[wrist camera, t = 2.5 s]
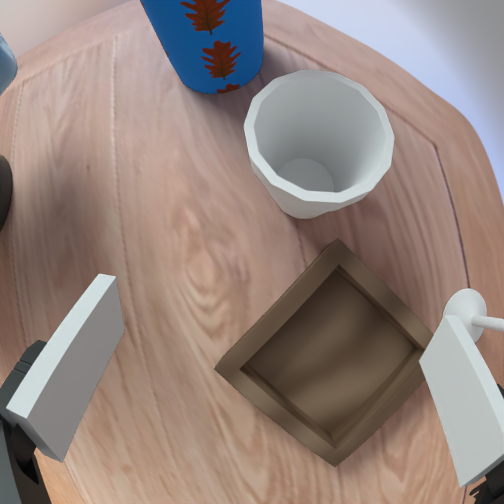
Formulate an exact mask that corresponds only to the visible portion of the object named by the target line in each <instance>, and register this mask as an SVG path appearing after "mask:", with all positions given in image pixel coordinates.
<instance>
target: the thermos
mask: <svg viewBox="0 0 504 504" xmlns="http://www.w3.org/2000/svg"><path fill="white" fill-rule="evenodd" d="M140 2H141V4H142V6H143V8H144V10H145V12H146V14H147V16H148V18H149V20H150V22H151V24H152V26H153V28H154V30H155V32H156V34H157V36H158V38H159V40H160V42H161V45H162V47H163V49H164V51H165V53H166V55H167V57H168V58H169V60H170V62H171V64H172V66H173V67H174V69H175V71H176V72H177V74H178V76H179V77H180V79H181V81H182V82H183V84H185V85H186V86H188V87H189V88H191V89H192V90H195V91H199V92H203V93H206V94H210V93H225V92H228V91H231V90H235V89H238V88H240V87H241V86H243V85H245V84H246V83H248V82H249V81H251V80H252V79H253V78H254V76H255V75H256V74H257V73H258V72H259V70H260V68H261V64H262V61H263V43H264V37H263V22H262V8H261V0H140Z"/></svg>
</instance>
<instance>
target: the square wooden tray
mask: <svg viewBox="0 0 504 504" xmlns="http://www.w3.org/2000/svg"><path fill="white" fill-rule="evenodd" d="M433 336H434V335H433V334H432V332H431V331H430V330H429V329H428V328H427V327H426V326H425V325H424V324H423V323H422V322H421V321H420V320H419V319H418V318H417V316H416V315H415V314H414V313H413V312H412V311H411V310H410V309H409V308H408V307H407V306H406V305H405V304H404V303H403V302H402V301H401V300H400V299H399V298H398V297H397V296H396V295H395V294H394V293H393V292H392V291H391V290H390V289H389V288H388V287H387V286H386V285H385V284H384V283H383V282H382V281H381V280H380V279H379V278H378V277H377V276H376V275H375V274H374V273H373V272H372V271H371V270H370V269H369V268H368V267H367V266H366V265H365V264H364V263H363V262H362V261H361V260H360V259H359V258H358V257H357V256H356V255H355V254H354V253H353V252H352V251H351V250H350V249H349V248H348V247H347V246H345V245H344V244H343V243H342V242H341V241H340V240H339V239H338V238H337V239H336V240H334V241H333V242H331V243H330V244H329V245H328V246H327V247H326V248H325V249H324V250H323V251H322V252H321V254H320V255H319V256H318V257H317V258H316V259H315V260H314V261H313V262H312V263H311V265H310V266H309V267H308V268H307V269H306V270H305V271H304V272H303V273H302V274H301V275H300V277H299V278H298V279H297V280H296V281H295V282H294V283H293V284H292V285H291V286H290V287H289V288H288V289H287V291H286V292H285V293H284V294H283V295H282V296H281V297H280V298H279V299H278V300H277V301H276V302H275V303H274V304H273V305H272V306H271V308H270V309H269V310H268V311H267V312H266V313H265V314H264V315H263V316H262V317H261V318H260V319H259V320H258V321H257V322H256V323H255V324H254V325H253V326H252V327H251V328H250V329H249V330H248V331H247V332H246V333H245V335H244V336H243V337H242V338H241V339H240V340H239V341H238V342H237V343H236V344H235V345H234V346H233V347H232V348H231V349H230V350H229V351H228V352H227V353H226V354H225V355H224V356H223V357H222V358H221V360H220V361H219V362H218V364H217V365H216V367H215V368H214V370H215V371H217V372H218V373H219V374H220V375H221V376H222V377H223V378H224V379H225V380H226V381H228V382H229V383H230V384H231V385H232V386H233V387H234V388H235V389H237V390H238V391H239V392H240V393H241V394H242V395H243V396H245V397H246V398H247V399H248V400H249V401H250V402H252V403H253V404H254V405H255V406H256V407H257V408H259V409H260V410H261V411H262V412H263V413H265V414H266V415H267V416H268V417H269V418H271V419H272V420H273V421H274V422H276V423H277V424H278V425H279V426H281V427H282V428H283V429H284V430H286V431H287V432H288V433H289V434H291V435H292V436H293V437H295V438H296V439H297V440H299V441H300V442H301V443H302V444H304V445H305V446H306V447H308V448H309V449H310V450H312V451H313V452H314V453H316V454H317V455H319V456H320V457H321V458H323V459H324V460H325V461H327V462H328V463H330V464H331V465H332V466H334V467H336V466H337V465H338V464H340V463H341V462H342V461H343V460H344V459H346V458H347V457H348V456H349V455H350V454H351V453H352V452H354V451H355V450H356V449H357V448H358V447H359V446H360V445H362V444H363V443H364V442H365V441H366V440H367V439H368V438H369V437H370V436H371V435H372V434H373V433H374V432H376V431H377V430H378V429H379V428H380V427H381V426H382V425H383V424H384V423H385V422H386V421H387V420H388V419H389V418H390V417H391V416H392V415H393V414H394V413H395V412H396V411H397V410H398V409H399V408H400V406H401V405H402V404H403V403H404V402H405V401H406V400H407V399H408V398H409V397H410V396H411V395H412V393H413V392H414V391H415V390H416V389H417V388H418V387H419V386H420V384H421V383H422V382H423V381H424V380H425V379H426V378H425V376H424V373H423V370H422V368H421V365H420V363H419V360H420V358H421V357H422V355H423V353H424V352H425V350H426V348H427V346H428V345H429V343H430V341H431V339H432V338H433Z"/></svg>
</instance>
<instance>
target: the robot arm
mask: <svg viewBox="0 0 504 504" xmlns="http://www.w3.org/2000/svg"><path fill="white" fill-rule="evenodd" d="M17 70H18V65H17V61H16V59H15V56H14V55H13V53H12V51H11V49H10V48H9V46H8V44H7V43H6V41H5V40H4V38H3V36H2V35H1V33H0V96H1V95H2V93H3V92H4V91H5V90H6V88H7V87H8V86H9V85H10V84H11V82H12V81H13V80H14V78H15V77H16V74H17ZM11 189H12V177H11V170H10V166H9V164H8V161H7V160H6V159H5V157H4V156H2V155H0V230H1V228H2V226H3V223H4V221H5V218H6V215H7V212H8V208H9V203H10V198H11ZM124 331H125V327H124V322H123V316H122V311H121V305H120V298H119V292H118V285H117V278H116V276H110V275H105V274H98V276H97V277H96V278H95V279H94V281H93V282H92V283H91V284H90V286H89V287H88V288H87V290H86V291H85V292H84V293H83V295H82V296H81V297H80V299H79V300H78V301H77V303H76V304H75V305H74V307H73V308H72V309H71V311H70V312H69V313H68V315H67V316H66V317H65V319H64V320H63V322H62V323H61V324H60V326H59V327H58V328H57V330H56V331H55V333H54V334H53V336H52V337H51V338H50V340H49V341H48V343H46V342H43V341H40V340H38V341H37V342H35V343H34V344H33V345H31V346H30V347H28V348H27V350H26V351H25V352H24V354H23V355H22V357H21V358H20V361H18V362H17V364H16V365H15V367H14V370H12V371H11V373H10V374H9V376H8V377H7V379H6V380H5V382H4V383H3V385H2V387H1V388H0V504H52V503H51V501H50V498H49V495H48V493H47V490H46V487H45V484H44V481H43V478H42V475H41V472H40V469H39V466H38V463H37V459H36V457H35V455H34V451H35V448H36V447H37V448H38V449H39V450H40V451H41V452H42V453H43V454H44V455H46V456H48V457H50V458H53V459H55V460H57V461H59V462H62V463H63V460H64V458H65V456H66V453H67V451H68V448H69V446H70V444H71V441H72V439H73V437H74V434H75V432H76V430H77V428H78V425H79V423H80V421H81V419H82V417H83V414H84V412H85V410H86V408H87V406H88V403H89V401H90V399H91V397H92V395H93V393H94V391H95V389H96V387H97V385H98V382H99V380H100V378H101V376H102V374H103V372H104V370H105V368H106V366H107V364H108V362H109V360H110V358H111V356H112V354H113V352H114V350H115V348H116V346H117V345H118V343H119V341H120V339H121V337H122V335H123V333H124ZM419 363H420V365H421V368H422V370H423V373H424V376H425V378H426V381H427V383H428V386H429V389H430V392H431V394H432V397H433V400H434V403H435V406H436V408H437V411H438V414H439V417H440V420H441V423H442V426H443V429H444V433H445V436H446V439H447V442H448V446H449V449H450V452H451V456H452V459H453V463H454V466H455V470H456V474H457V478H458V481H459V485H460V487H463V486H467V485H470V484H473V483H475V482H477V481H478V480H479V479H481V478H482V477H484V476H486V481H484V482H483V483H482V484H480V485H479V486H477V487H476V488H474V489H473V490H472V491H471V492H470V494H469V495H470V496H471V495H473V494H474V493H476V492H477V491H479V493H477V494H476V495H475V496H474V498H476V501H475V503H474V504H504V389H503V388H502V387H501V386H500V385H499V384H496V382H495V380H494V378H493V377H492V375H491V373H490V371H489V369H488V367H487V365H486V363H485V361H484V360H483V358H482V356H481V354H480V352H479V350H478V349H477V347H476V345H475V343H474V342H473V340H472V338H471V336H470V335H469V333H468V331H467V330H466V328H465V326H464V325H463V323H462V321H461V320H460V318H459V316H457V315H444V317H443V319H442V321H441V323H440V325H439V327H438V328H437V330H436V332H435V334H434V336H433V338H432V339H431V341H430V343H429V345H428V346H427V348H426V350H425V352H424V353H423V355H422V357H421V358H420V360H419Z"/></svg>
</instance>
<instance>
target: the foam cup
mask: <svg viewBox="0 0 504 504" xmlns="http://www.w3.org/2000/svg"><path fill="white" fill-rule="evenodd" d="M244 131H245V136H246V141H247V147H248V152H249V157H250V162H251V167H252V170H253V171H254V173H255V174H256V175H257V177H258V178H259V179H260V180H261V182H262V183H263V184H264V186H265V187H266V188H267V189H268V191H269V193H270V194H271V196H272V198H273V199H274V201H275V202H276V203H277V204H278V206H279V207H280V208H281V210H282V211H283V212H285V213H287V214H289V215H290V216H292V217H294V218H300V219H312V218H314V217H317V216H319V215H321V214H324V213H326V212H328V211H336V210H338V209H341V208H343V207H345V206H348V205H350V204H352V203H355V202H357V201H360V200H362V199H363V198H364V197H365V196H366V195H367V194H368V193H369V192H370V191H371V190H372V189H373V188H374V187H375V185H376V184H377V183H378V181H379V180H380V179H381V178H382V176H383V175H384V174H385V172H386V171H387V170H388V169H389V167H390V166H391V160H392V152H393V145H394V134H393V131H392V128H391V125H390V122H389V120H388V117H387V114H386V111H385V109H384V107H383V106H382V105H381V104H380V103H379V102H378V101H377V100H376V99H375V98H374V97H373V96H372V95H371V93H370V92H369V91H368V90H367V89H366V88H365V87H364V86H363V85H361V84H358V83H356V82H354V81H352V80H350V79H348V78H346V77H344V76H342V75H340V74H337V73H335V72H328V71H317V70H300V71H297V72H293V73H290V74H287V75H284V76H281V77H278V78H275V79H273V80H272V81H271V82H270V83H269V84H268V85H267V86H266V87H264V88H263V89H262V90H261V91H260V92H259V93H258V94H257V95H256V96H255V97H254V98H253V99H252V102H251V105H250V108H249V111H248V114H247V117H246V120H245V123H244Z"/></svg>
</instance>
